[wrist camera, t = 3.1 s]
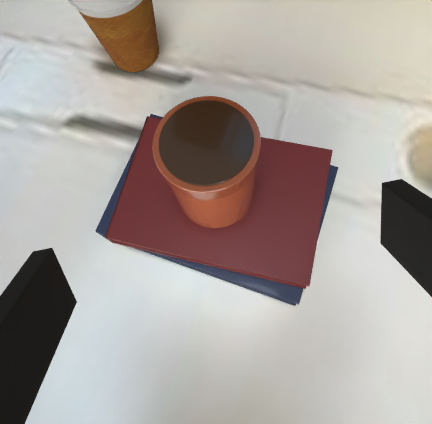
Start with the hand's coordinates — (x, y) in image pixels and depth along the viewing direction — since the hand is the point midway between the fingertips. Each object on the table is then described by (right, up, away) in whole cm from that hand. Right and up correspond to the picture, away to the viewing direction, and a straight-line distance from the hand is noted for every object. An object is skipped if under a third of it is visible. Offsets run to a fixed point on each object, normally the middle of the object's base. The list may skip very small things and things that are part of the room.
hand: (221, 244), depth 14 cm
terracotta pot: (0, +3, +21) cm, 22 cm away
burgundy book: (0, +2, +23) cm, 24 cm away
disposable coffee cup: (-11, +23, +34) cm, 42 cm away
